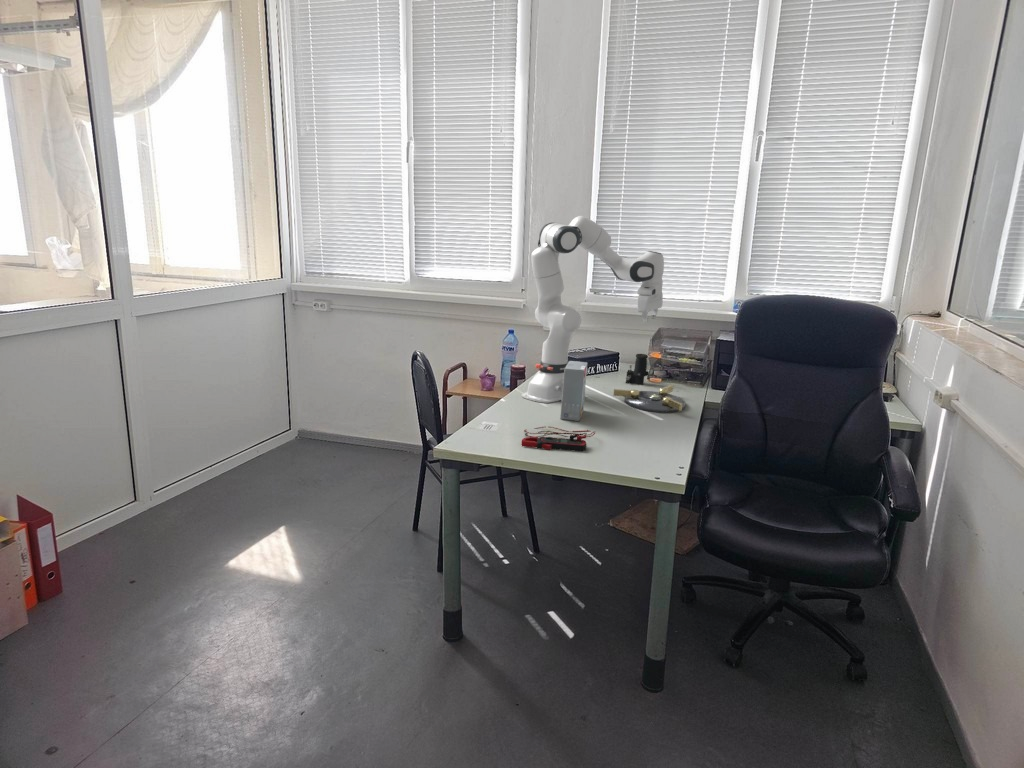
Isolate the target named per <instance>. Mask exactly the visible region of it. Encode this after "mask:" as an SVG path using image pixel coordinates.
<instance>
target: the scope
mask: <svg viewBox="0 0 1024 768" xmlns="http://www.w3.org/2000/svg"><path fill="white" fill-rule="evenodd" d="M648 357H649V355H648V354H645V353H636V354H635V363H634V369H633V370H632V366H633V365H632V364H629V369H627V371H626V377H625V383H626V384H632V385H638V386H639V385H641V386H643V385H644V383H645V382H644V381H645V378H646V377H648V376H649V373H650V372H649V371H648V370H647V367H648Z"/></svg>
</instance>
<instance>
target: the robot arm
mask: <svg viewBox="0 0 1024 768" xmlns="http://www.w3.org/2000/svg"><path fill="white" fill-rule="evenodd" d="M611 244H612V237H611V235H610V233H608V231H606V230H605V229H604V227H602V226H601V225H600V224H598V223H597V222H595V220H594V221H593V220H592V219H590V218H588V217H586V216H584V215H578V216H576V217H574V218H573V219H572V220H571V221H570V222H569V224H568V225H566V224H563V223H559V222H549V223H546V224H544V225H543V226H542V228H541V229H540V231H539V237H538V243H537V246H538V247H536V248H535V249H534V250H533V251H532V252H531V255H530V257H531V258H530V259H531V269H532V273H533V277H534V278H533V279H534V283H535V287H536V291H537V299H538V301H537V307H536V308H535V309H534V317H535V320H536V321H537V322H538V324H540V325H541V326H542V327H544V328H547V329H549V332H548V333H549V334H548V337H547V338H546V340H544V341H543V343H542V351H541V360H540V363H536V364H535V369H538V371H537V372H536V373H535V375H534V376H533V377H532V379H531V380H530V381H529V382H528V386H527V391H525V392H523V393H521V397H522V398H524V399H526V400H529V401H532V402H537V403H544V404H547V403H554V402H558V401H562V392H563V380H564V369H565V367H566V365H567V364H568V362H569V360H568V359H569V358H568V357H569V347H570V342H571V340H572V337H573V335H574V333H575V332H577V330H579V328H580V327H581V323H582V317H581V314H580V312H579V311H577V310H576V309H575V308H573V307H571V306H570V305H569V306H568V305H564V304H563V303H562V293H563V292H564V289H565V284H564V280H563V277H562V272H561V267H560V264H559V256H560V254H570V253H572V252H573V251H575V250H576V248H578V246H580V247H581V248H582V249H583V250H585V251H587V252H588V253H590V254H592V255H594V256H595V257H597V258H598V259H600V260H601V261H602V262H603V263H604V264H605V265H607V266H608V267H609V268H610V269H611V271H612V273H613V275H614V276H615V278H616V279H618V280H620V281H628V282H632V283H641V285H640V287H639V288H638V289H637V291H636V293H637V295H638V296H637V311H638V313H640V314H641V315H642V322H643V323H647V322H648V321H649V317H648V315H649V312H652V313H651V315H650V319H652V320H655V319H657V315H658V311H659V309H661V308H662V307H663V299H664V295H663V282H664V281H663V274H664V273H665V272H664V270H665V269H664V268H665V260H664V258H665V257H664V255H663V254H662V253H661V252H658V251H653V250H648V251H647V250H646V251H645V253H644V254H642V255H641V256H638V257H637V258H632V257H631V258H630V257H626V256H621V255H619V254H618V252H616V251H614V250H613V249H612V248H611Z"/></svg>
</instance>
